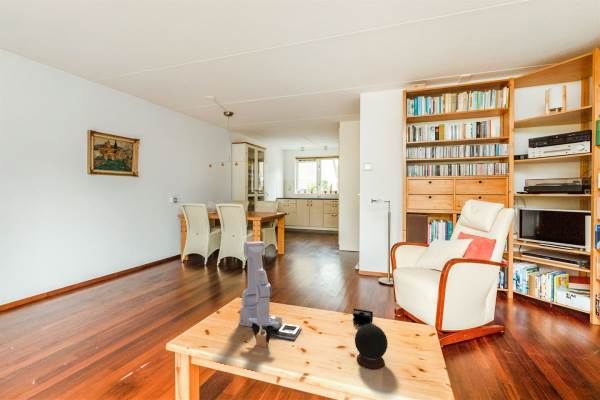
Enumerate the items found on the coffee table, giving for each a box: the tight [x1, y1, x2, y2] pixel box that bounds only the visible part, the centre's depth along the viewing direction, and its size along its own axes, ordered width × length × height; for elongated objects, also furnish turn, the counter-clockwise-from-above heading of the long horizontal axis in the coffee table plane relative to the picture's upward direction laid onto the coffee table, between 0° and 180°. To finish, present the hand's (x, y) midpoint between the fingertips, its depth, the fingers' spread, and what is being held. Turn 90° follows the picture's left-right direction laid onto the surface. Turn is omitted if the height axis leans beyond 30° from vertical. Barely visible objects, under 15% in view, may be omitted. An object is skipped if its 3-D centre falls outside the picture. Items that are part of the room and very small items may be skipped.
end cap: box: [352, 308, 374, 326], centre depth 155 cm, size 10×7×7 cm
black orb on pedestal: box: [354, 323, 389, 371], centre depth 119 cm, size 13×13×15 cm
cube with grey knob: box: [255, 330, 270, 348], centre depth 132 cm, size 4×4×6 cm
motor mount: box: [260, 315, 303, 342], centre depth 143 cm, size 20×12×7 cm, turn 73°
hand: (262, 340), depth 132 cm, fingers closed on cube with grey knob, 4 cm apart
